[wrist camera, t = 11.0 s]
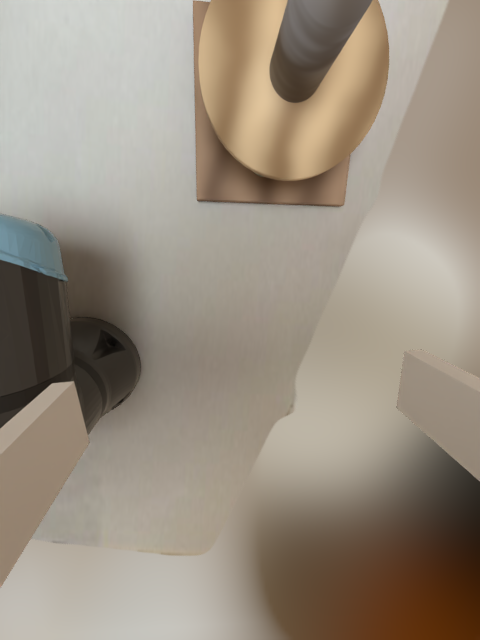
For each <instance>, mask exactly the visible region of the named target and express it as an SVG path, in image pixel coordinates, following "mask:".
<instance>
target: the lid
mask: <svg viewBox="0 0 480 640" xmlns="http://www.w3.org/2000/svg"><path fill="white" fill-rule="evenodd" d="M198 64H199V79H200V87H201V93H202V98H203V103H204V106H205V110H206V113H207V116H208V118H209V121H210V123H211V125H212V128H213V129H214V131H215V133H216V135H217V137H218V138H219V140H220V141H221V143H222V144H223V145H224V147H225V148H226V150H227V151H228V152H229V153H230V154H231V155H232V156H233V157H234V158H235V159H236V160H237V161H239V162H240V163H241V164H242V165H243V166H245V167H246V168H248V169H250V170H251V171H253V172H255V173H257V174H259V175H261V176H264V177H267V178H271V179H274V180H281V181H298V180H304V179H308V178H311V177H314V176H318V175H320V174H322V173H324V172H326V171H328V170H329V169H331V168H332V167H334V166H335V165H337V164H338V163H340V162H341V161H343V160H344V159H345V158H346V157H347V156H348V155H349V154H351V153H352V152H353V151H354V149H355V148H356V147H357V146H358V145H359V144H360V143H361V141H362V140H363V139H364V137H365V136H366V134H367V133H368V131H369V130H370V128H371V126H372V124H373V123H374V121H375V119H376V116H377V114H378V112H379V109H380V107H381V104H382V100H383V97H384V94H385V89H386V84H387V79H388V70H389V43H388V34H387V29H386V24H385V20H384V16H383V13H382V10H381V7H380V4H379V2H378V0H211V2H210V5H209V7H208V10H207V12H206V15H205V19H204V22H203V26H202V30H201V36H200V43H199V60H198Z"/></svg>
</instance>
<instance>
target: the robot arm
mask: <svg viewBox="0 0 480 640" xmlns="http://www.w3.org/2000/svg"><path fill="white" fill-rule="evenodd" d="M66 282H68V278H67V276H66V275H65V274H64V269H63V264H62V258H61V252H60V246H59V243H58V241H57V239H56V237H55V236H54V235H53V234H52V233H51V232H50V231H49V230H48V229H46V228H45V227H43V226H41V225H39V224H36V223H34V222H31V221H27V220H24V219H20V218H16V217H13V216H8V215H4V214H0V587H1V586H2V585H3V583H4V581H5V580H6V578H7V576H8V575H9V573H10V571H11V570H12V568H13V567H14V565H15V563H16V562H17V560H18V558H19V557H20V555H21V554H22V552H23V550H24V548H25V547H26V545H27V544H28V542H29V540H30V539H31V537H32V536H33V534H34V532H35V531H36V529H37V527H38V526H39V524H40V523H41V521H42V519H43V518H44V516H45V514H46V513H47V511H48V510H49V508H50V506H51V505H52V503H53V501H54V500H55V498H56V496H57V495H58V493H59V492H60V490H61V488H62V487H63V485H64V483H65V482H66V480H67V479H68V477H69V475H70V474H71V472H72V470H73V469H74V467H75V465H76V464H77V462H78V461H79V459H80V457H81V456H82V454H83V452H84V451H85V449H86V448H87V446H88V444H89V443H90V442H89V438H88V435H89V433H90V432H91V430H92V429H93V427H94V426H95V425H96V423H97V422H98V420H99V419H100V417H102V416H103V415H105V414H106V413H108V412H109V411H110V410H112V409H114V408H116V407H117V406H119V405H120V404H122V403H123V402H124V401H125V400H126V399H127V398H128V397H129V395H130V394H131V392H132V391H133V389H134V387H135V386H136V384H137V382H138V379H139V376H140V368H141V366H140V358H139V355H138V352H137V350H136V347H135V346H134V344H133V343H132V341H131V340H130V339H129V337H128V336H127V335H126V334H125V333H124V332H122V331H121V330H120V329H118V328H117V327H115V326H114V325H112V324H110V323H108V322H105V321H102V320H99V319H94V318H85V317H82V318H73V319H70V316H69V306H68V296H67V287H66ZM396 407H397V409H398V410H399V411H401V412H402V413H403V414H404V415H405V416H406V417H408V418H409V419H410V420H411V421H412V422H413V423H414V424H415V425H416V426H417V427H419V428H420V429H421V430H422V431H423V432H424V433H425V434H427V435H428V436H429V437H430V438H431V439H432V440H433V441H435V442H436V443H437V444H438V445H439V446H440V447H441V448H443V449H444V450H445V451H446V452H447V453H448V454H449V455H451V456H452V457H453V458H454V459H455V460H456V461H457V462H458V463H460V464H461V465H462V466H463V467H464V468H465V469H467V470H468V471H469V472H470V473H471V474H472V475H473V476H474V477H476V478H477V479H478V480H479V481H480V378H478V377H476V376H474V375H472V374H470V373H468V372H466V371H464V370H462V369H460V368H458V367H456V366H454V365H452V364H450V363H448V362H446V361H444V360H442V359H440V358H438V357H436V356H434V355H432V354H430V353H428V352H426V351H424V350H422V349H420V350H409V351H405V352H404V357H403V364H402V371H401V378H400V385H399V392H398V400H397V406H396Z"/></svg>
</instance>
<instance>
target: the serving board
mask: <svg viewBox="0 0 480 640" xmlns="http://www.w3.org/2000/svg"><path fill="white" fill-rule="evenodd" d="M209 5H210V2H203V1H193V27H194V78H195V128H196V179H197V200H198V201H212V202H237V203H263V204H289V205H314V206H342V205H344V202H345V194H346V186H347V178H348V169H349V161H350V154H349V155H348V156H347V157H346V158H345V159H344V160H343V161H341V162H340V163H338V164H337V165H335V166H334V167H332V168H331V169H329V170H328V171H326V172H324V173H322V174H320V175H318V176H314V177H311V178H308V179H304V180H298V181H281V180H274V179H271V178H267V177H260V175H259V176H258V175H257V174H255V173H254V172H252V171H251V170H250V169H248V168H246V167H245V166H243V165H242V164H241V163H240V162H238V161H237V160H236V159H235V158H234V157H233V156H232V155H231V154H230V153H229V152H228V151H227V150H226V148H225V147H224V145H223V144H222V143H221V141H220V140H219V138H218V137H217V135H216V133H215V131H214V129H213V128H212V125H211V123H210V121H209V118H208V116H207V113H206V110H205V106H204V103H203V98H202V93H201V87H200V79H199V64H198V60H199V43H200V36H201V30H202V26H203V22H204V19H205V15H206V12H207V10H208V7H209Z"/></svg>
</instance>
